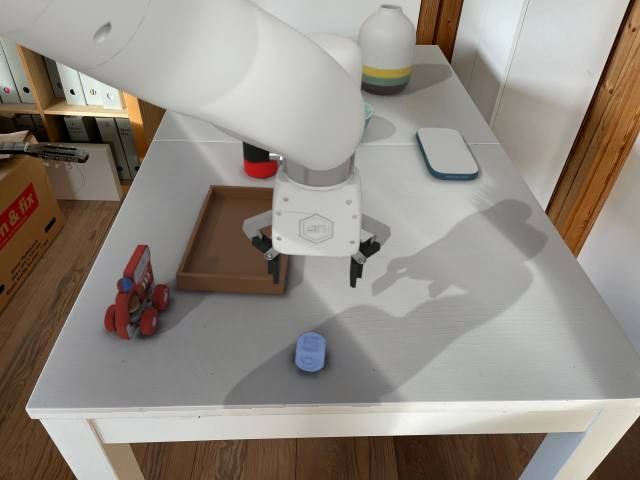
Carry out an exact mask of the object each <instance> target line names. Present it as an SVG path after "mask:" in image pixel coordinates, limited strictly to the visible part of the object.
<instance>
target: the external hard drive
mask: <svg viewBox="0 0 640 480" xmlns="http://www.w3.org/2000/svg"><path fill="white" fill-rule="evenodd" d="M415 138H416V141H417V144H418V147H419V150H420V152H421V154H422V155H421V156H422V158H423V160H424V162H425V165H426V168H427V170H428V172H429V174H430V175H431V176H432V177H434V178H435V179H439V180H451V181H452V180H453V181H455V180H456V181H457V180H458V181H459V180H460V181H469V180H474V179H476V178H478V175H479V172H480V171H479V165H478V164H477V162H476V160H475V158H474V156H473V155H472V153H471V151H470V149H469V147H468V145H467V144H466V142H465V140H464V138H463V136H462V135H461V133H460V132H459V131H458V130H456V129H453V128H449V127H419V128H418V129H417V130H416V134H415Z"/></svg>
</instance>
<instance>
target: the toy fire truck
mask: <svg viewBox="0 0 640 480" xmlns="http://www.w3.org/2000/svg"><path fill="white" fill-rule="evenodd" d="M155 284H156V283H155V277H154V273H153V267H152V262H151V251H150V246H149V245H148V244H138V245H136V247H135V249H134V250H133V253H132V254H131V256H130V258H129V260H128V262H127V264H126V266H125V268H124V270H123V272H122V277H121V278H119V279H118V280H117V281H116V289H117V290H118V292H117V293H116V296H115V299H114V300H115V301H114V303H112V304H110V305H109V306H108V307H107V309H106V310H105V314H104V319H103V320H104V321H103V323H104V328H105V330H106V331H107V332H112V333H117V337H118V339H120V340H125V341H130V340H132V338H133V336H134V333H135V331H136V329H137V328H138V327H140V328H139V329H140V332H141V334H142V335H149V336H150V335H153V334H154V333H155V332H156V330H157V328H158V324H159V311H164V310H166V308H168V305H169V301H170V287H169V286H168V284H166V283H165V284H164V283H158V284H156V285H155ZM151 300H152V307H148V306H147V304H148V303H150V302H151Z"/></svg>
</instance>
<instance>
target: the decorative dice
mask: <svg viewBox="0 0 640 480" xmlns="http://www.w3.org/2000/svg"><path fill="white" fill-rule="evenodd" d="M326 349H327V339H326V338H325V336H323V335H321V334H320V333H317V332H313V331H308V332H304V333H302V334H301V335H299V336H298V337H297V342H296V348H295V357H294V358H295V360H294V363H295V365H296V366H297V368H299V369H301V370H303V371H305V372H317V371H319V370H322V369H323V368H324V367H325V360H326Z"/></svg>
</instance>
